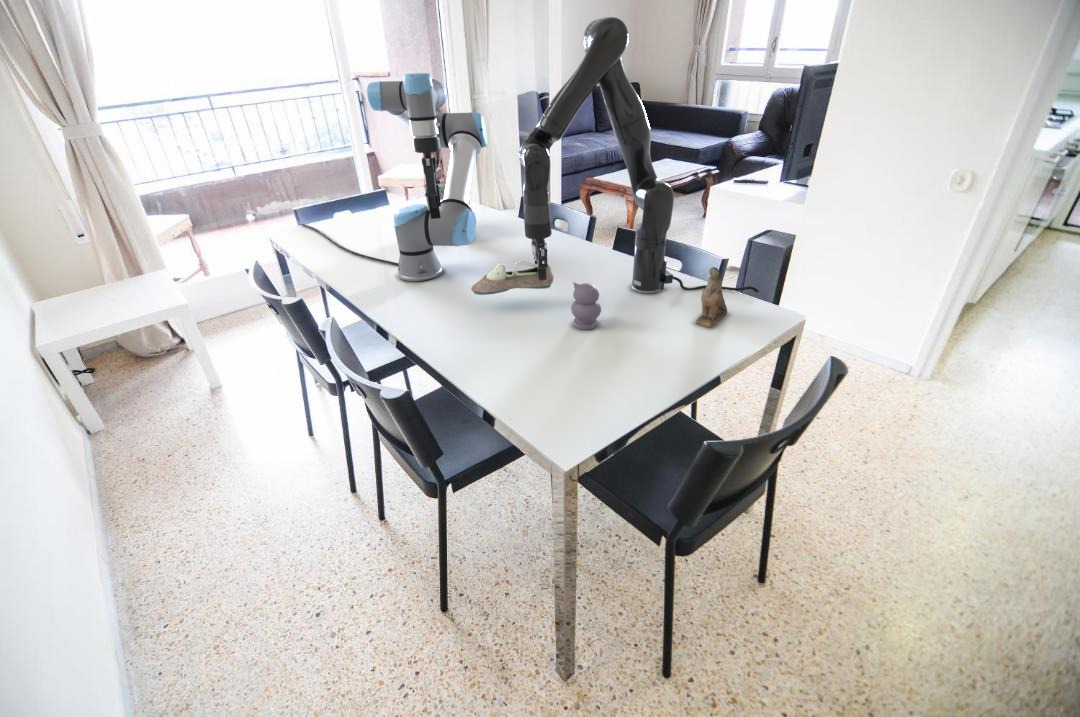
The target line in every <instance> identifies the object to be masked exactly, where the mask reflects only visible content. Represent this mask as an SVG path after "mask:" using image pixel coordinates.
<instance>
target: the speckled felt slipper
mask: <svg viewBox="0 0 1080 717" xmlns="http://www.w3.org/2000/svg"><path fill="white" fill-rule="evenodd" d="M517 264H520V265H523V266H527V267H531V268H528V269H522V270H516V268H517ZM547 265H548V267H547V268H546V280H539V276H538V267H537V266H538V265H537V264H535V262H531V261H521V260H520V261H519V260H518V261H515V263H514V266H513V269H512V271H507V270H506V265H505V264H504V263H503V262H502V261H501V262H498V263H497V265H495V267H493V268H492V269H490V270H489V271H488V273H486V274H485V275H484V276H483V277H482V278H480V279H479V280H478V281H476V283H474V284H473V285H472V286H471V288H470V290H471V291H472V292H473V294H474V295H478V296H486V295H487V296H488V295H495V294H501V293H505V292H508V291H510V290H515V289H531V290H543V289H544V290H545V289H549V288H551V286H552V284H553V283H554V275H553V272H552V269H551V266H550V265H549V264H548V263H547Z"/></svg>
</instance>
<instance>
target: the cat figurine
mask: <svg viewBox="0 0 1080 717" xmlns="http://www.w3.org/2000/svg"><path fill="white" fill-rule="evenodd" d="M572 284H573V288H574V290H573V298H574V301H573V302H572V304H571V306H570V312H571V314H572V316H573V317H574V318H573V326H574V327H575V328H577V329H578V330H579V329H580V330H585V331H586V330H592V329H594V328H596V327H597V324H598V319H597V318H598V317H600V315H601V312H602V307H601V304H600V303H599V302H598V300H599V298H600V291H599V290H598V287H596V286H595V285H593V284H591V283H589V282H588V283H587V282H583V283H580V284H579V283H577V282H575V281H573V282H572Z"/></svg>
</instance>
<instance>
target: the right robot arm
mask: <svg viewBox="0 0 1080 717" xmlns="http://www.w3.org/2000/svg"><path fill="white" fill-rule="evenodd" d="M582 36H583V37H582V45H583V46H582V47H583V50H584V53H585V55H584V57H583V59H582V60H581V62H580V63H579V65H578V67H577V68H576V69H575V71H574V72H573V73H572V75H571V76H570V77H569V79H568V80H567V81H566V82H565V83H564V84H563V86H562V87H561V88H560V89H559V90H558V91H557V92H556V94H555V96H554V97H553V98H552V99H551V101H550V103H549V104H548V105H547V108H546V109H545V111H544V113H543V114H542V116H541V118H540V119H539V120H538V121H539V122H538V123H537V124H536V125H535V126H534V127H533V129H532V130H531V131H530V132H529V133H528V135H527V136H526V137H525V139H524V140H523V142H522V144H521V145H520V147H519V149H518V156H517V157H518V161H519V162H520V164H521V165H522V166H523V169H524V183H523V184H522V198H523V221H524V222H523V224H524V235H525V238H527V239H530V240H531V242H530V245H531V252H532V256H533V261H534V263H535V264H537V265H538V266H537V267H538V276H539V280H546V268H547V267H548V265H549V264H548V245H547V242H546V240H545V239H548V238H550V237H551V236H552V230H553V229H552V210H551V204H550V191H549V190H550V189H549V183H550V174H551V155H550V151H549V150H550V149H551V148H552V146H553V145H554V144H555V143H556V142H558V141H560V140H561V139H562V138H563V137H564V135H565V134H566V132H567V130H568V129H569V127H570V126H571V124H572V123H573V121H574V119H575V118H576V116H577V114H578V113H579V112H580V110H581V108H582V107H583V105H584V104H585V102H586V101H587V99H588V98H589V97H590V95H591V94H592V92H593V91H594V89H595V88H596V87H597V85H599V88H600V91H601V95H602V99H603V101H604V106H605V109H606V112H607V114H608V118H609V121H610V123H611V127H612V132H613V134H614V137H615V140H616V142H617V145H618V147H619V151H620V154H621V156H622V159H623V161H624V164H625V167H626V169H627V170H626V171H627V173H628V177H629V181H630V186H631V191H632V195H633V200H634V202H635V204H636V205H637V207H639V208H640V209H641V210H642V218H641V223H639V224H637V225H636V227H635V235H634V236H635V237H634V250H633V251H634V252H633V265H632V266H633V268H632V280H631V289H632V290H633V291H634V292H636V293H639V294H645V295H650V294H657V293H659V292H661V291H662V290H665V285H667V284H673V280H675V281H677V282H678V283H679V286H680V288H681V289H683V290H684V291H697V290H702V289H704V288H705V287H707V284H705V285H699V286H695V287H686V286H684V283H683V281H682V279H680V278H679V277H678V276H677V277H676V276H674V274H673V273H671V272H670V271H669V270H668V269H667V262H668V261H667V260H666V259H665V254H666V245H667V234H668V231H669V228H670V227H671V224H672V218H673V211H674V202H675V194H674V190H673V188H672V187H671V185H669V183H666V182H664V181H663V180H660V179H659V177H658V175H657V174H656V171H655V168H654V166H653V163H652V158H651V145H652V144H651V142H652V137H651V136H652V135H651V134H652V133H651V127H650V123H649V120H648V117H647V116H648V115H647V113H646V110H645V109H646V108H645V106H644V105H643V102H642V100H641V99H640V97H639V95H638V93H637V92H636V90H635V88H634V86H633V85H632V83H631V82H630V80H629V78H628V76H627V74H626V72H625V69H624V65H623V61H622V55H623V54H624V53H625V51H626V49H627V47H628V44H629V30H628V27H627V25H626V23H625V22H624V20H622V19H620V18H618V17H615V16H607V17H601V18H597V19H594V20H592V21H591V22H590V23H588V25H587V26H586V28H585V29H584V31H583V35H582ZM547 264H548V265H547ZM721 289H722V290H725V291H733V292H734V291H735V292H740V291H745V290H746V291H747V290H752V291H754V292H755V293H759V292H760V291H759V289H757V288H756V287H755V286H752V285H749V286H748V285H747V286H742V287H731V286H723V285H722V288H721ZM726 289H727V290H726Z"/></svg>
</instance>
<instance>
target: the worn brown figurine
mask: <svg viewBox="0 0 1080 717" xmlns="http://www.w3.org/2000/svg"><path fill="white" fill-rule="evenodd" d="M708 273H709V275H710V276H709V278H708V279H707V280H708V281H707V284H706V285H707V287H705V288H702V289H703V290H702V292H701V297H700V298H701V309H702V312H701V315H700V316H699V317H698V318H697V319H696V321H695V324H696V325H699V326H703V327H705V328H712V327H714V326H715V325H716V324H717V323H719V321H721V320H722V319H723V318H725V317H726V316H727V315H728V307H727V304H726V301H725V298H724V293H723V289H721V288H722V286H723V281H722V279H721V278H720V270H719V269H718V268H717V267H715V266H712V267H711V268H710V269H709V270H708Z"/></svg>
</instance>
